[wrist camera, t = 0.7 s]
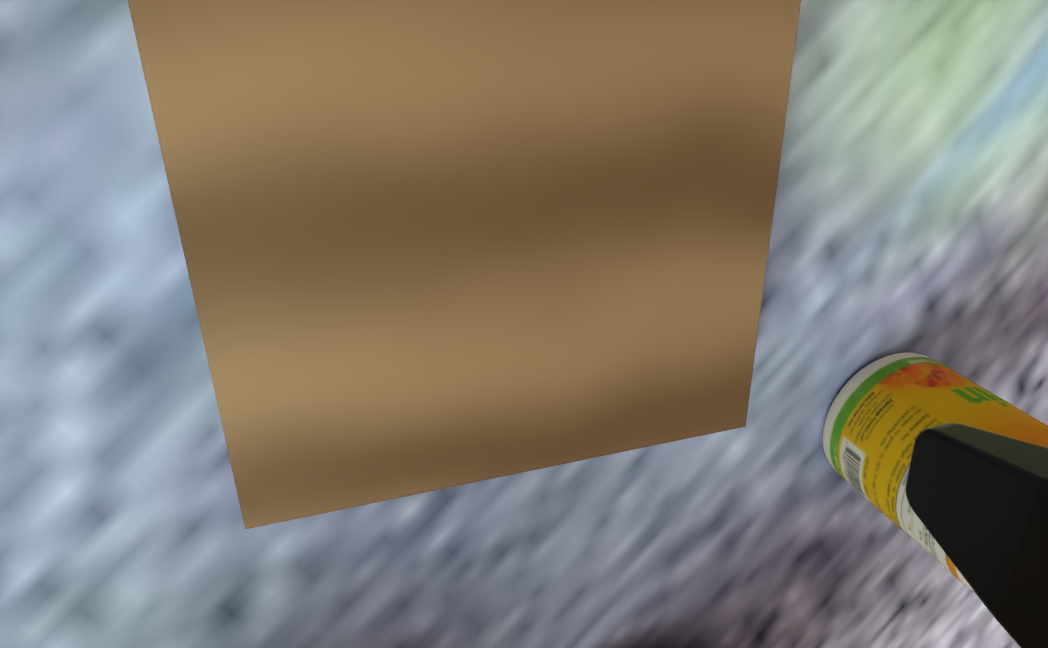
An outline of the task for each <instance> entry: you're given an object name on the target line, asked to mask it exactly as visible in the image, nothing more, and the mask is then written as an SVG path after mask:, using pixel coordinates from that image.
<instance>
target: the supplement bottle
mask: <svg viewBox="0 0 1048 648" xmlns="http://www.w3.org/2000/svg"><path fill="white" fill-rule="evenodd" d="M947 423H958V424H963V425H966V426H970V427H974V428H977V429H981V430H985V431H988V432H992V433H995V434H999V435H1003V436H1006V437H1010V438H1014V439H1017V440H1021V441H1025V442H1028V443H1032V444H1035V445H1039V446H1043V447H1046V448H1048V426H1047V425H1045V424H1044V423H1042V422H1040V421H1038V420H1037V419H1035V418H1033V417H1032V416H1030V415H1028V414H1027V413H1025V412H1023V411H1021V410H1020V409H1018V408H1016V407H1015V406H1013V405H1011V404H1010V403H1008V402H1006V401H1005V400H1003V399H1001V398H999V397H997V396H996V395H994V394H992V393H991V392H989V391H987V390H985V389H984V388H982V387H980V386H979V385H977V384H975V383H973V382H972V381H970V380H968V379H967V378H965V377H963V376H962V375H960V374H958V373H956V372H955V371H953V370H951V369H950V368H948V367H946V366H945V365H943V364H941V363H939V362H937V361H936V360H934V359H932V358H930V357H928V356H925V355H922V354H918V353H897V354H893V355H889V356H886V357H883V358H881V359H879V360H876V361H874V362H873V363H871V364H869V365H867V366H866V367H864V368H863V369H861V370H860V371H859V372H857V373H856V374H855V375H854V376H853V377H852V378H851V379H850V380H849V381H848V382H847V383H846V384H845V386H844V387H843V388H842V389H841V391H840V392H839V393H838V395H837V396H836V398H835V400H834V401H833V403H832V405H831V407H830V409H829V412H828V414H827V417H826V420H825V425H824V429H823V448H824V452H825V455H826V458H827V460H828V461H829V463H830V464H831V466H832V467H833V468H834V469H835V470H836V471H837V472H838V473H839V474H840V475H841V476H842V477H843V478H844V479H845V480H846V481H847V482H848V483H849V484H850V485H852V486H853V487H854V488H855V489H856V490H857V491H858V492H860V493H861V494H862V495H863V496H864V497H865V498H866V499H868V500H869V501H870V502H871V503H872V504H873V505H875V506H876V507H877V508H878V509H879V510H880V511H881V512H883V513H884V514H885V515H886V516H887V517H888V518H889V519H891V520H892V521H893V522H894V523H895V524H896V525H897V526H899V527H900V528H901V529H902V530H903V531H904V532H905V533H907V534H908V535H909V536H910V537H911V538H912V539H913V540H915V541H916V542H917V543H918V544H919V545H920V546H921V547H922V548H924V549H925V550H926V551H927V552H928V553H929V554H930V555H932V556H933V557H934V558H935V559H936V560H937V561H938V562H940V563H941V564H942V565H943V566H944V567H945V568H946V569H947V570H949V571H950V572H951V573H952V574H953V575H954V576H955V577H956V578H958V579H959V580H960V581H961V582H962V583H963V584H965V585H966V586H967V587H969V588H970V589H971V590H973V589H972V588H971V586H970V585H969V584H968V582H967V581H966V580H965V578H964V577H963V576H962V574H961V573H960V572H959V570H958V569H957V568H956V567H955V565H954V564H953V563H952V561H951V560H950V559H949V557H948V556H947V555H946V553H945V552H944V551H943V549H942V548H941V547H940V545H939V544H938V543H937V542H936V540H935V539H934V538H933V536H932V535H931V534H930V532H929V531H928V530H927V528H926V527H925V526H924V524H923V523H922V522H921V520H920V519H919V518H918V517H917V515H916V514H915V513H914V511H913V510H912V508H911V507H910V504H909V502H908V500H907V496H906V490H905V487H906V481H907V476H908V471H909V466H910V461H911V457H912V452H913V447H914V442H915V439H916V437H917V436H918V434H919V433H920V432H921V431H923V430H925V429H928V428H931V427H935V426H939V425H943V424H947ZM973 591H974V590H973Z"/></svg>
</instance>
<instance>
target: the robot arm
mask: <svg viewBox="0 0 1048 648" xmlns="http://www.w3.org/2000/svg"><path fill="white" fill-rule="evenodd" d="M905 490H906V496H907V500H908V502H909V504H910V507H911V508H912V510H913V511H914V513H915V514H916V515H917V517H918V518H919V519H920V520H921V522H922V523H923V524H924V526H925V527H926V528H927V530H928V531H929V532H930V534H931V535H932V536H933V538H934V539H935V540H936V542H937V543H938V544H939V545H940V547H941V548H942V549H943V551H944V552H945V553H946V555H947V556H948V557H949V559H950V560H951V561H952V563H953V564H954V565H955V567H956V568H957V569H958V570H959V572H960V573H961V574H962V576H963V577H964V578H965V580H966V581H967V582H968V584H969V585H970V586H971V588H972V589H973V590H974V592H975V593H976V594H977V595H978V597H979V598H980V599H981V601H982V602H983V603H984V605H985V606H986V607H987V608H988V610H989V611H990V612H991V613H992V615H993V616H994V617H995V618H996V620H997V621H998V622H999V623H1000V624H1001V625H1002V627H1003V628H1004V629H1005V630H1006V631H1007V632H1008V634H1009V635H1010V636H1011V637H1012V638H1013V639H1014V640H1015V642H1016V643H1017V644H1018V645H1019V646H1020V647H1021V648H1048V448H1046V447H1043V446H1039V445H1035V444H1032V443H1028V442H1025V441H1021V440H1017V439H1014V438H1010V437H1006V436H1003V435H999V434H995V433H992V432H988V431H985V430H981V429H977V428H974V427H970V426H966V425H963V424H958V423H947V424H943V425H939V426H935V427H931V428H928V429H925V430H923V431H921V432H920V433H919V434H918V436H917V437H916V439H915V442H914V447H913V452H912V457H911V461H910V466H909V471H908V476H907V481H906V487H905Z"/></svg>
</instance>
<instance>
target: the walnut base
mask: <svg viewBox="0 0 1048 648" xmlns="http://www.w3.org/2000/svg"><path fill="white" fill-rule="evenodd" d="M800 2H801V0H128V4H129V8H130V13H131V17H132V22H133V26H134V31H135V35H136V40H137V44H138V49H139V53H140V58H141V62H142V67H143V71H144V76H145V80H146V85H147V89H148V94H149V98H150V103H151V107H152V112H153V116H154V120H155V125H156V129H157V134H158V138H159V143H160V147H161V152H162V156H163V161H164V165H165V170H166V174H167V179H168V183H169V188H170V192H171V197H172V201H173V206H174V210H175V215H176V219H177V224H178V228H179V233H180V237H181V242H182V246H183V251H184V255H185V260H186V264H187V269H188V273H189V278H190V282H191V287H192V291H193V296H194V300H195V305H196V309H197V314H198V318H199V323H200V327H201V332H202V336H203V341H204V345H205V350H206V354H207V359H208V363H209V368H210V372H211V377H212V381H213V386H214V390H215V395H216V399H217V404H218V408H219V413H220V417H221V422H222V426H223V431H224V435H225V439H226V444H227V448H228V453H229V457H230V462H231V466H232V471H233V475H234V480H235V484H236V489H237V493H238V498H239V502H240V507H241V511H242V516H243V520H244V525H245V529H249V528H254V527H259V526H264V525H268V524H273V523H278V522H283V521H288V520H293V519H298V518H302V517H307V516H312V515H317V514H322V513H327V512H332V511H336V510H341V509H346V508H351V507H356V506H361V505H366V504H371V503H375V502H380V501H385V500H390V499H395V498H400V497H405V496H409V495H414V494H419V493H424V492H429V491H434V490H439V489H444V488H448V487H453V486H458V485H463V484H468V483H473V482H478V481H482V480H487V479H492V478H497V477H502V476H507V475H512V474H516V473H521V472H526V471H531V470H536V469H541V468H546V467H551V466H555V465H560V464H565V463H570V462H575V461H580V460H585V459H589V458H594V457H599V456H604V455H609V454H614V453H619V452H623V451H628V450H633V449H638V448H643V447H648V446H653V445H658V444H662V443H667V442H672V441H677V440H682V439H687V438H692V437H696V436H701V435H706V434H711V433H716V432H721V431H726V430H730V429H735V428H740V427H745V425H746V418H747V410H748V402H749V395H750V387H751V379H752V372H753V364H754V356H755V348H756V341H757V333H758V325H759V318H760V310H761V302H762V295H763V287H764V279H765V271H766V264H767V256H768V248H769V241H770V233H771V225H772V218H773V210H774V202H775V194H776V187H777V179H778V171H779V164H780V156H781V148H782V141H783V133H784V125H785V117H786V110H787V102H788V94H789V87H790V79H791V71H792V64H793V56H794V48H795V40H796V33H797V25H798V17H799V10H800Z"/></svg>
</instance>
